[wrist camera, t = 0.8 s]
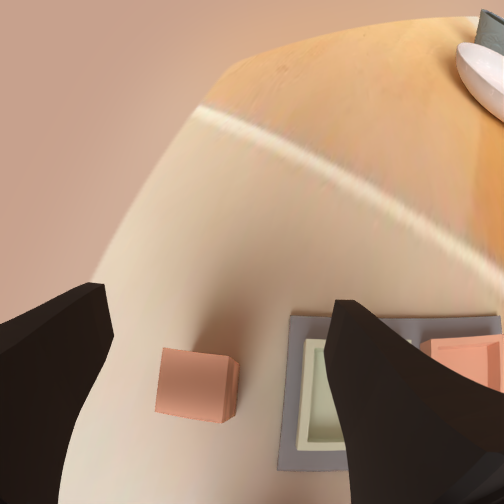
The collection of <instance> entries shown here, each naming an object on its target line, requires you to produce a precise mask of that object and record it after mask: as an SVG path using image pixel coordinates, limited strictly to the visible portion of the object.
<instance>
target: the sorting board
mask: <svg viewBox="0 0 504 504" xmlns="http://www.w3.org/2000/svg"><path fill="white" fill-rule="evenodd" d="M331 318H332V317H314V316H293V315H291V316H290V328H289V343H288V357H287V371H286V383H285V395H284V407H283V417H282V428H281V438H280V448H279V457H278V466H277V471H307V472H321V471H349V470H348V462H347V454H346V447H345V442H344V438H343V433H342V430H341V426H340V422H339V419H338V415H337V412H336V408H335V405H334V401H333V398H332V394H331V390H330V387H329V383H328V380H327V374H326V368H325V360H324V353H323V351H324V347H325V343H326V339H327V334H328V330H329V326H330V322H331ZM379 319H380V320H381V321H382V322H384V323H385V324H386V325H387V326H388V327H390V328H391V329H392V330H394V331H395V332H396V333H397V334H399V335H400V336H401V337H403V338H404V339H405V340H407V341H408V342H409V343H411V344H412V345H414V346H415V347H416V348H418V349H419V350H421V351H422V352H423V353H425V354H426V355H428V356H429V357H431V358H433V359H434V360H436V361H437V362H439V363H441V364H443V365H444V366H446V367H448V368H449V369H451V370H453V371H455V372H457V373H459V374H460V375H462V376H464V377H467V378H469V379H471V380H473V381H475V382H477V383H479V384H481V385H484V386H486V387H489V388H491V389H494V390H496V391H499V392H502V393H504V334H502V328H501V317H500V316H485V317H460V318H379Z"/></svg>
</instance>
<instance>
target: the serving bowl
mask: <svg viewBox="0 0 504 504" xmlns="http://www.w3.org/2000/svg"><path fill="white" fill-rule="evenodd" d="M456 65H457V70H458V73H459V75H460V78H461V80H462V81H463V83H464V85H465V86H466V88H467V89H468V90H469V92H470V93H471V94H472V95H473V96H474V98H475V99H476V100H477V101H478V102H479V103H480V104H481V105H482V106H483V107H485V108H486V109H487V110H488V111H489V112H490V113H492V114H493V115H494V116H496V117H497V118H498V119H500V120H501V121H503V122H504V56H502V55H501V54H499V53H497V52H495V51H493V50H491V49H489V48H486V47H484V46H481V45H478V44H474V43H467V42H464V43H460V44H459V45H458V46H457V51H456Z"/></svg>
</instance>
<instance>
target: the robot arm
mask: <svg viewBox="0 0 504 504" xmlns="http://www.w3.org/2000/svg"><path fill="white" fill-rule="evenodd" d="M113 338H114V333H113V328H112V323H111V318H110V313H109V308H108V303H107V297H106V291H105V285H104V284H99V283H90V282H88V283H85V284H83V285H80V286H78V287H75V288H73V289H71V290H69V291H67V292H65V293H63V294H61V295H59V296H57V297H55V298H53V299H51V300H49V301H47V302H46V303H44V304H42V305H40V306H38V307H36V308H34V309H32V310H30V311H28V312H26V313H24V314H22V315H19V316H17V317H15V318H14V319H11V320H9V321H7V322H4V323H2V324H0V504H58V496H59V488H60V482H61V476H62V470H63V465H64V461H65V457H66V453H67V449H68V445H69V442H70V438H71V435H72V432H73V429H74V426H75V422H76V420H77V417H78V415H79V413H80V410H81V408H82V406H83V404H84V402H85V400H86V398H87V396H88V394H89V392H90V390H91V388H92V386H93V384H94V382H95V380H96V378H97V376H98V374H99V372H100V371H101V369H102V367H103V365H104V363H105V361H106V358H107V355H108V352H109V350H110V347H111V344H112V341H113ZM323 353H324V360H325V368H326V374H327V380H328V383H329V387H330V390H331V394H332V398H333V401H334V405H335V408H336V412H337V415H338V419H339V422H340V426H341V430H342V433H343V438H344V442H345V447H346V454H347V462H348V470H349V480H350V491H351V504H504V393H502V392H499V391H496V390H494V389H491V388H489V387H486V386H484V385H481V384H479V383H477V382H475V381H473V380H471V379H469V378H467V377H464V376H462V375H460V374H459V373H457V372H455V371H453V370H451V369H449V368H448V367H446V366H444V365H443V364H441V363H439V362H437V361H436V360H434V359H433V358H431V357H429V356H428V355H426V354H425V353H423V352H422V351H421V350H419V349H418V348H416V347H415V346H414V345H412V344H411V343H409V342H408V341H407V340H405V339H404V338H403V337H401V336H400V335H399V334H397V333H396V332H395V331H394V330H392V329H391V328H390V327H388V326H387V325H386V324H385V323H384V322H382V321H381V320H380V319H379V318H377V317H376V316H375V315H374V314H372V313H371V312H370V311H369V310H367V309H366V308H365V307H363V306H362V305H361V304H359V303H358V302H356V301H355V300H335V304H334V309H333V313H332V318H331V322H330V326H329V330H328V334H327V339H326V343H325V347H324V351H323Z"/></svg>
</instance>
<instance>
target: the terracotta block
mask: <svg viewBox="0 0 504 504" xmlns="http://www.w3.org/2000/svg"><path fill="white" fill-rule="evenodd" d="M239 370H240V364H238V363H237V362H236V361H235V360H233V359H232V358H231V357H230V356H224V355H215V354H206V353H198V352H190V351H183V350H176V349H169V348H163V352H162V359H161V366H160V373H159V381H158V389H157V397H156V405H155V412H158V413H163V414H168V415H173V416H178V417H184V418H190V419H195V420H202V421H208V422H215V423H223V422H225V421H227V420H228V419H230V418H232V417H234V416H235V409H236V400H237V390H238V380H239Z"/></svg>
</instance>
